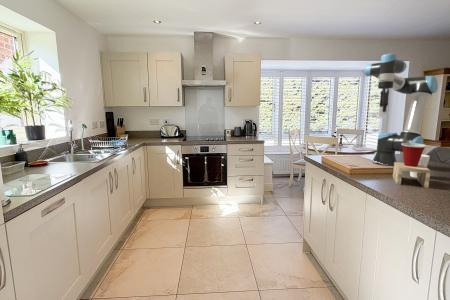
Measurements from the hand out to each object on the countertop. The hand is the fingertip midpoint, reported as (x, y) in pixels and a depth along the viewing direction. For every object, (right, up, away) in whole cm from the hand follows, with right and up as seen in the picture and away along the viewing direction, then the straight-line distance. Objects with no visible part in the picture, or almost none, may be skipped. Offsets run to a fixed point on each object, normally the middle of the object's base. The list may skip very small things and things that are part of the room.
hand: (382, 117), depth 150 cm
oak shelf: (+6, -37, -14) cm, 40 cm away
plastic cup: (+6, -29, -15) cm, 33 cm away
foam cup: (+19, -36, -2) cm, 41 cm away
